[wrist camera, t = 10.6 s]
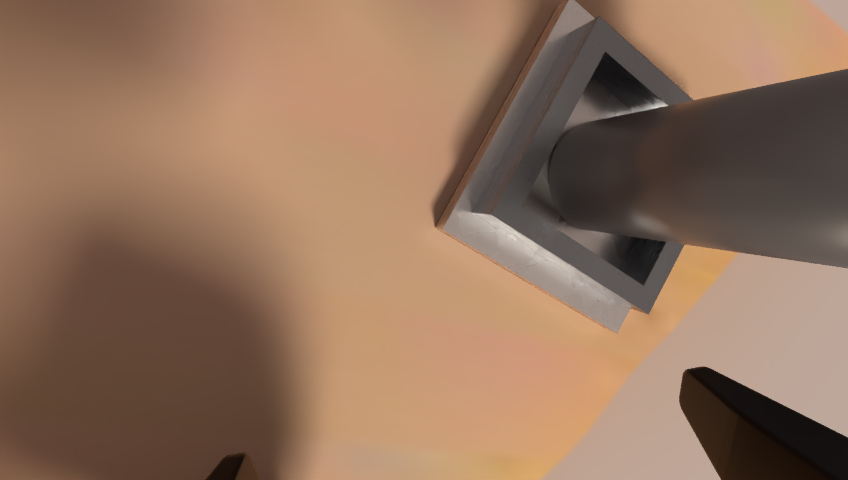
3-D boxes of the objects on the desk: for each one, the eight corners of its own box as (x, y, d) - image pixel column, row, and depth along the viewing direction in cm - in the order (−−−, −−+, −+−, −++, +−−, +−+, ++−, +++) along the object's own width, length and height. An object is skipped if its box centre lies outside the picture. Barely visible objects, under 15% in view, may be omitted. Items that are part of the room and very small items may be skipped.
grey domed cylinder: (581, 251, 22) (905, 323, 11) (529, 161, 21) (838, 133, 9) (655, 189, 23) (1025, 194, 12) (610, 99, 22) (982, 3, 10)
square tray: (604, 327, 24) (647, 346, 21) (435, 227, 21) (459, 233, 18) (705, 133, 25) (760, 125, 22) (557, 5, 21) (600, -23, 19)
